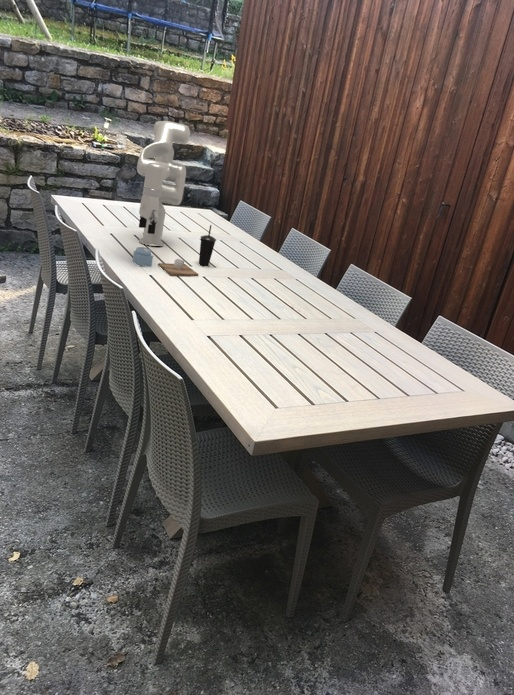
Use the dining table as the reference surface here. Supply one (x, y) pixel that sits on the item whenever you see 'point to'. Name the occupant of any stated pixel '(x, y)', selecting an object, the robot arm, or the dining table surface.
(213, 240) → the drinking cup
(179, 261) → the pale wood block
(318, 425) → the dining table surface
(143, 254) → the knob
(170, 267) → the board
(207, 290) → the dining table surface
